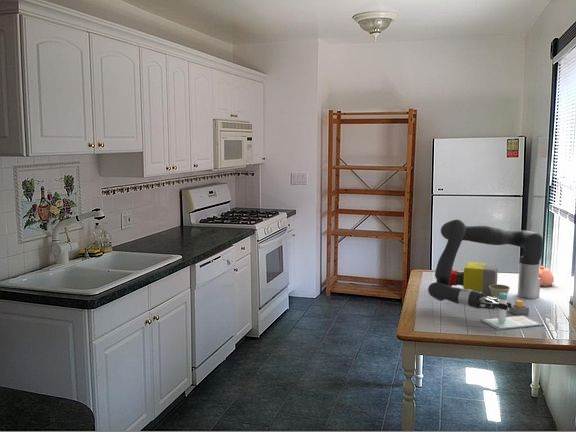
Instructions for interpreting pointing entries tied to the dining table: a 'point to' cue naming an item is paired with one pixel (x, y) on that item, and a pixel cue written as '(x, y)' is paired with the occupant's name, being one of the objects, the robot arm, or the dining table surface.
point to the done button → (519, 303)
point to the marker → (501, 311)
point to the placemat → (512, 322)
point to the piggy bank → (545, 276)
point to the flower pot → (498, 289)
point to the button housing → (519, 310)
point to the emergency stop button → (476, 277)
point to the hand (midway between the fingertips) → (509, 306)
